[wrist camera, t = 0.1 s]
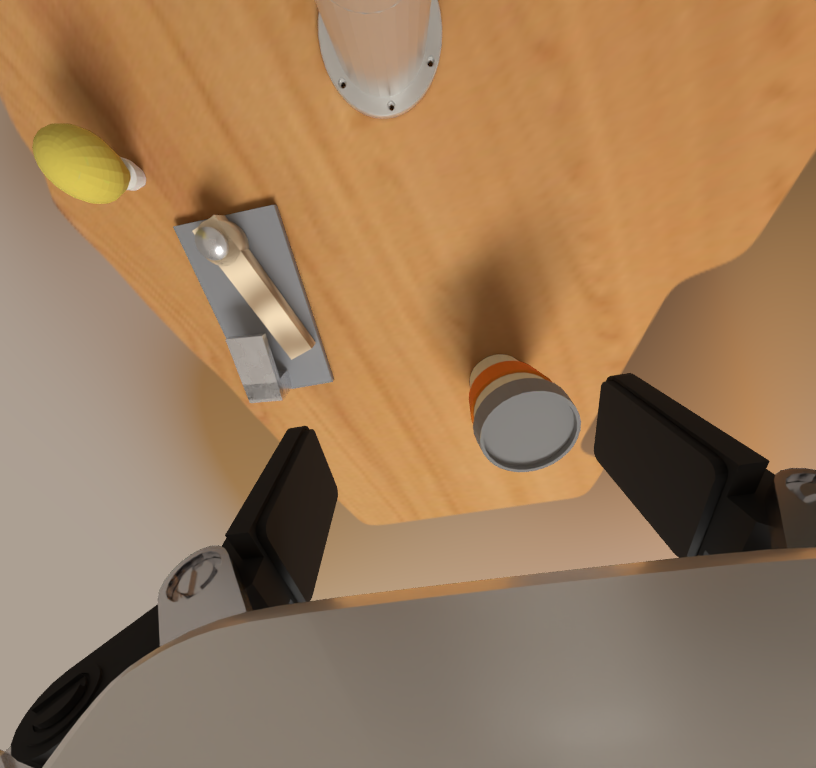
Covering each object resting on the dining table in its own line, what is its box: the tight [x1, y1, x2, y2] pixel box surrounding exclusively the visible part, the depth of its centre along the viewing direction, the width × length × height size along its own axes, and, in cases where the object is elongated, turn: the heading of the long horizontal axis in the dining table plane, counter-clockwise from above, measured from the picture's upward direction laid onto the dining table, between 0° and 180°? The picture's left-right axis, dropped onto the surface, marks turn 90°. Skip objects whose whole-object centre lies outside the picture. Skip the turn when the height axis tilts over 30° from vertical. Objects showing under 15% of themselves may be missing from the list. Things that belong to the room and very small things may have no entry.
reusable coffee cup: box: [469, 354, 581, 472], centre depth 43 cm, size 13×12×15 cm
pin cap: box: [195, 227, 229, 260], centre depth 36 cm, size 4×4×1 cm
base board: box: [173, 205, 334, 389], centre depth 44 cm, size 25×14×1 cm, turn 10°
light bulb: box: [32, 124, 146, 204], centre depth 33 cm, size 7×7×10 cm
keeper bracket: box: [226, 333, 293, 403], centre depth 45 cm, size 10×5×4 cm, turn 5°
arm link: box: [192, 215, 316, 360], centre depth 41 cm, size 19×5×2 cm, turn 28°
